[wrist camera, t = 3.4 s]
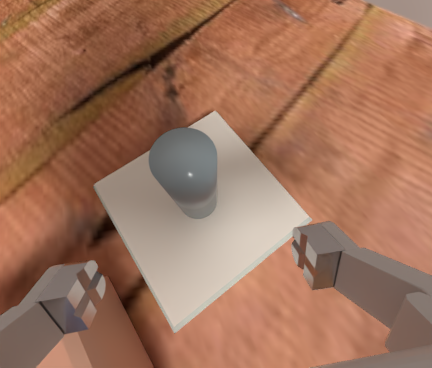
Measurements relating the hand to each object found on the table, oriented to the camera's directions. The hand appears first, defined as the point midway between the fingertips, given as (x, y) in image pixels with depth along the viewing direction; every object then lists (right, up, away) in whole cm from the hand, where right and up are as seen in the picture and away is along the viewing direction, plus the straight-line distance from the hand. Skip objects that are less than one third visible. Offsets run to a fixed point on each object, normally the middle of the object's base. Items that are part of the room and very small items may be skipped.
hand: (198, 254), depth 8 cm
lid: (-1, +1, +9) cm, 10 cm away
